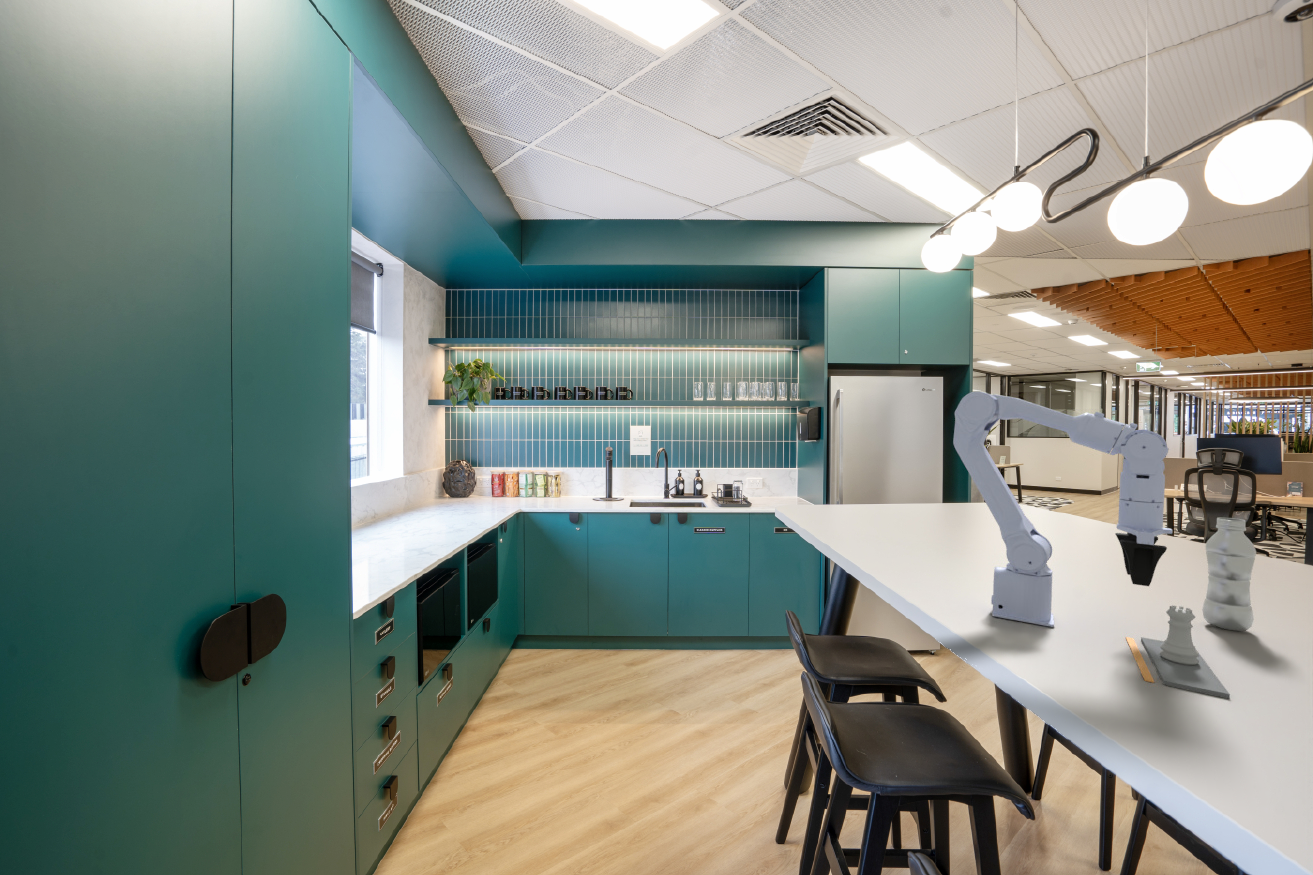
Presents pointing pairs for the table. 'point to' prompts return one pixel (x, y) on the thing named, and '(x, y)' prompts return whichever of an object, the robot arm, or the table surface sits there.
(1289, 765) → the table surface
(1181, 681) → the mat
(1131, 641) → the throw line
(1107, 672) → the table surface
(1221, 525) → the plastic bottle
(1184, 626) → the rook chess piece
